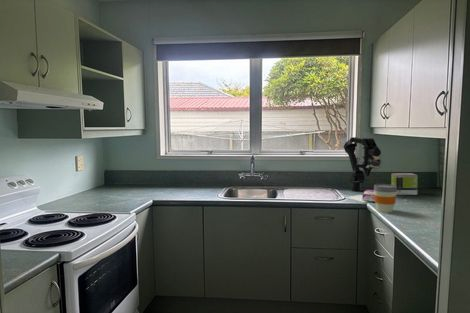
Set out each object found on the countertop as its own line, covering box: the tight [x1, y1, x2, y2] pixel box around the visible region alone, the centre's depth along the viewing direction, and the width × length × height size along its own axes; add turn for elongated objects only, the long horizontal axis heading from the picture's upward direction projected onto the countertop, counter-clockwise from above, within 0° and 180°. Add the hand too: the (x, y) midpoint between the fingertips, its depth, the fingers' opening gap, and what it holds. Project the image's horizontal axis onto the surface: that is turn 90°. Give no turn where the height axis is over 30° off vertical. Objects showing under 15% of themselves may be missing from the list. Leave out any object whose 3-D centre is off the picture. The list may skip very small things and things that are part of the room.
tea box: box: [390, 172, 419, 196], centre depth 244 cm, size 15×10×15 cm
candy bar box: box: [362, 189, 376, 203], centre depth 224 cm, size 11×5×16 cm
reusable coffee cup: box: [373, 183, 397, 214], centre depth 196 cm, size 13×13×15 cm
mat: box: [344, 194, 371, 203], centre depth 228 cm, size 16×16×1 cm
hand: (367, 176), depth 242 cm, fingers closed
